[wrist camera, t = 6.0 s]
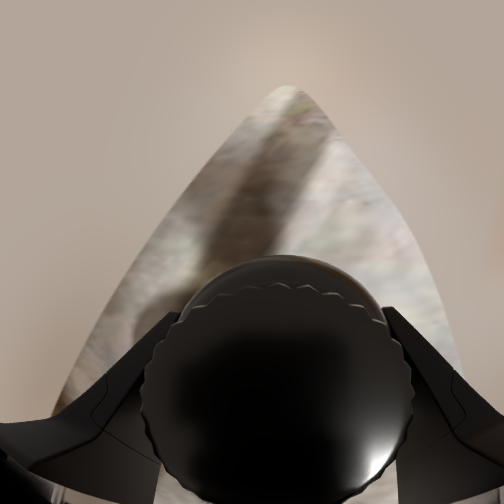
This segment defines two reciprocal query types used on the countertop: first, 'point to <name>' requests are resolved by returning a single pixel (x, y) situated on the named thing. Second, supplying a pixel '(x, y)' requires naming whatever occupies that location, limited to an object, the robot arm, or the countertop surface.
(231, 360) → the supplement bottle
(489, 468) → the robot arm
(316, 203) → the countertop surface
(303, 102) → the countertop surface
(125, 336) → the countertop surface
